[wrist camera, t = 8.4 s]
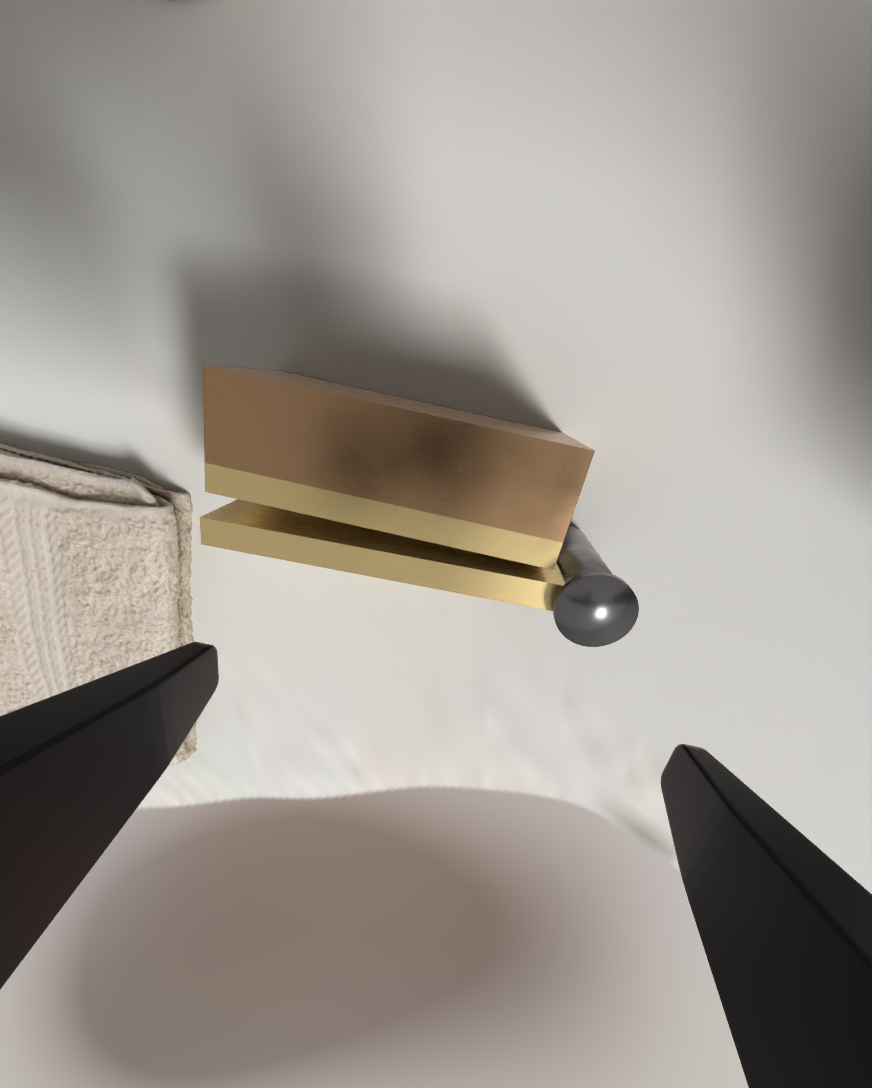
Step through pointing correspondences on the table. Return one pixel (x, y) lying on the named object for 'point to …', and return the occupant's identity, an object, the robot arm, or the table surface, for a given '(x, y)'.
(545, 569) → the swing leaf
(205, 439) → the block
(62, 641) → the washcloth
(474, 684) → the table surface
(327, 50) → the table surface
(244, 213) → the table surface
